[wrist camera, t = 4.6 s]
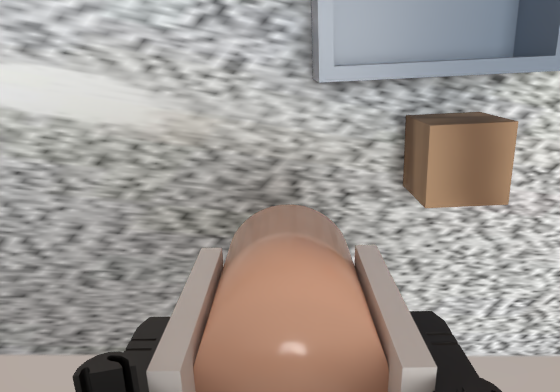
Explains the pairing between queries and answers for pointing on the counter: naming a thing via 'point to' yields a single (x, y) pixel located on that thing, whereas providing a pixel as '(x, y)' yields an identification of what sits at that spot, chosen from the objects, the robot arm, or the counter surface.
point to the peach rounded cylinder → (290, 312)
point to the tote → (432, 38)
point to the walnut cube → (459, 159)
